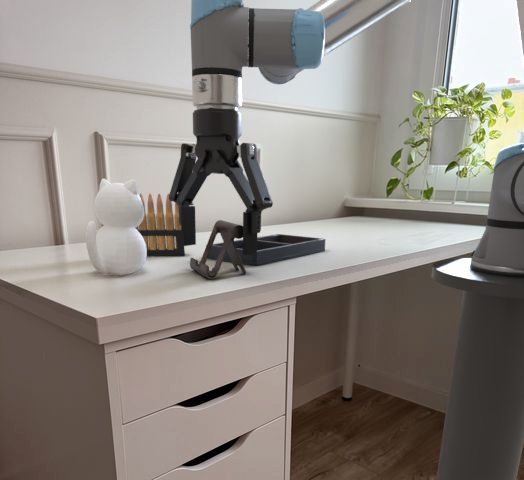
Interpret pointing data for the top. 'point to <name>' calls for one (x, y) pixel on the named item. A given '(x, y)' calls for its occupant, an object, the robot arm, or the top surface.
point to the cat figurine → (117, 229)
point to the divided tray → (273, 249)
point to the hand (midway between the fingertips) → (218, 249)
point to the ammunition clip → (161, 229)
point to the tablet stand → (228, 235)
